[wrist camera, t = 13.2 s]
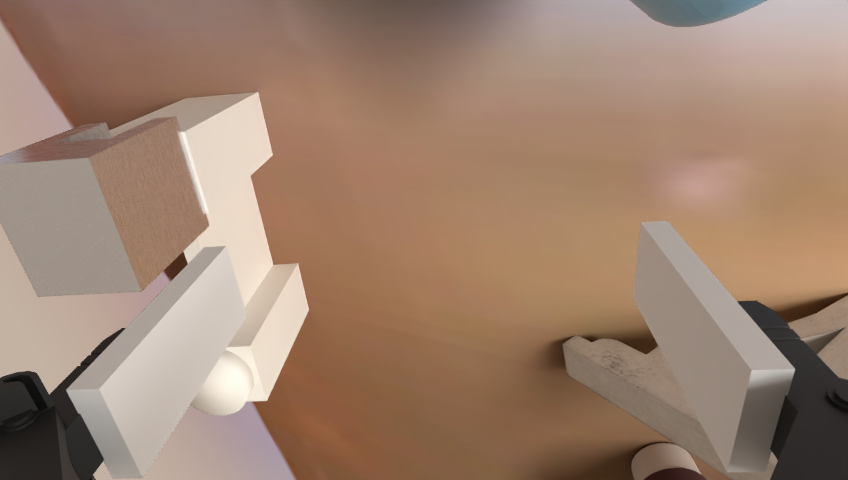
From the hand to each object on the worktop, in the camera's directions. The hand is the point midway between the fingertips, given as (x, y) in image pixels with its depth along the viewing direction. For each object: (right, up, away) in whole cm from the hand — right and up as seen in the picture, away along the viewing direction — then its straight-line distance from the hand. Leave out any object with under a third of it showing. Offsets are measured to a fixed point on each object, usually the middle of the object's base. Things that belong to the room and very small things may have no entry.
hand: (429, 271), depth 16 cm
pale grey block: (-19, +5, +20) cm, 28 cm away
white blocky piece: (-18, +4, +36) cm, 40 cm away
